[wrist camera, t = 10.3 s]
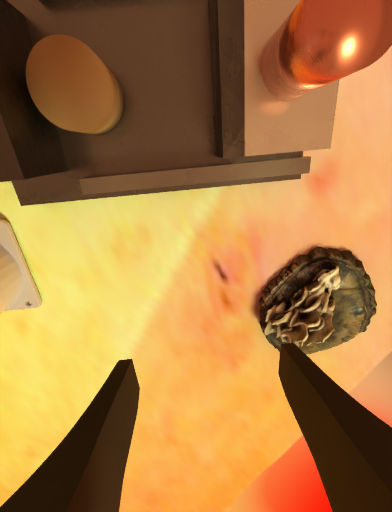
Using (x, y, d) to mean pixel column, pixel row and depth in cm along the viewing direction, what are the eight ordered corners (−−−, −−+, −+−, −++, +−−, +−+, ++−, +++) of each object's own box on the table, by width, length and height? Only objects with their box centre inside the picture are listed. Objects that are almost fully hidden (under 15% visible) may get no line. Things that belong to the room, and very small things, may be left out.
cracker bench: (31, 202, 18) (-38, 226, 13) (-50, -16, 13) (-222, -137, 8) (293, 176, 18) (342, 189, 13) (310, -48, 13) (403, -190, 8)
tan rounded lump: (67, 137, 16) (42, 134, 13) (45, 59, 14) (12, 38, 11) (129, 131, 16) (117, 127, 13) (115, 53, 14) (99, 30, 11)
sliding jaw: (216, 156, 16) (244, 163, 9) (208, -5, 13) (242, -206, 6) (305, 148, 16) (405, 148, 9) (320, -15, 13) (499, -227, 6)
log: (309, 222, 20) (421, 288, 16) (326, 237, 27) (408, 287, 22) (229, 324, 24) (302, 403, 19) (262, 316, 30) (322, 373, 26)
